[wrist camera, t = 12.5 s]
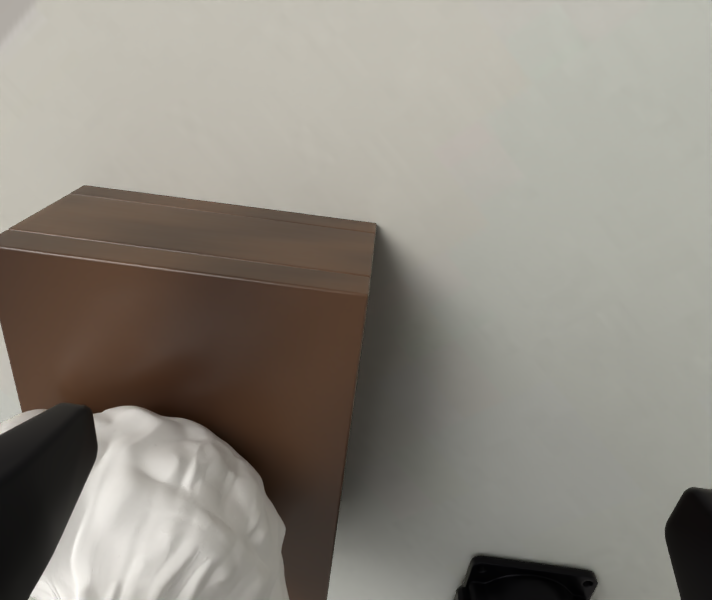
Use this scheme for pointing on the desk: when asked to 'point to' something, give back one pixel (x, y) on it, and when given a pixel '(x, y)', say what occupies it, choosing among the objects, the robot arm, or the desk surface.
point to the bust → (165, 518)
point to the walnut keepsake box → (202, 335)
